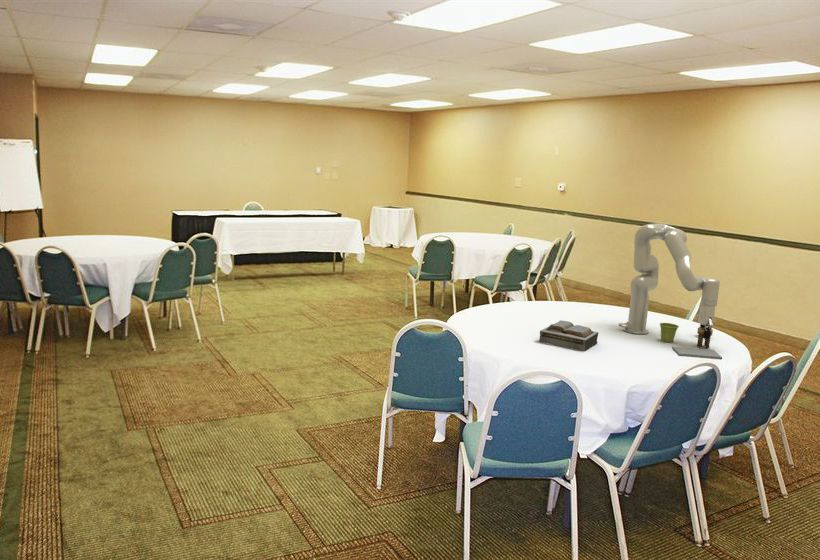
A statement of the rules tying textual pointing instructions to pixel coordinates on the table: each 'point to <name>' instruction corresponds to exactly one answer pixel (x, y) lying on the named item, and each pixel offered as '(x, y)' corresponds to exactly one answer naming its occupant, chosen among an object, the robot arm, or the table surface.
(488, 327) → the table surface
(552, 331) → the bible
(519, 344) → the table surface
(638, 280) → the robot arm
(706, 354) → the mat
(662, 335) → the plant pot
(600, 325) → the table surface
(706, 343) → the stool
